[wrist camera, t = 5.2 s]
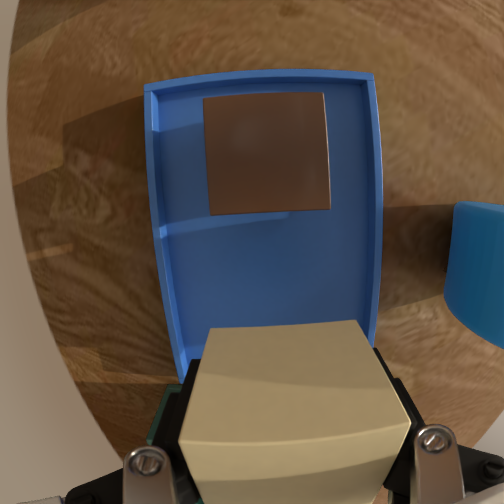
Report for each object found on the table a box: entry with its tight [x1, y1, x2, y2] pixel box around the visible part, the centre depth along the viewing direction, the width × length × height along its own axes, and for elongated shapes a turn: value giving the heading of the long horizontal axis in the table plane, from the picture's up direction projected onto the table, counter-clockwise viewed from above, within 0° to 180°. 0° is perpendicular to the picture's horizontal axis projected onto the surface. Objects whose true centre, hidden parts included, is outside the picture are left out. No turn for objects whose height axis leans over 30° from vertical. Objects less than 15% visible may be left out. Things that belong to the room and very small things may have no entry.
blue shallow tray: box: [144, 69, 383, 384], centre depth 17 cm, size 19×13×2 cm
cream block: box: [178, 320, 411, 504], centre depth 8 cm, size 5×5×5 cm
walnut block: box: [203, 92, 331, 216], centre depth 14 cm, size 5×5×5 cm
